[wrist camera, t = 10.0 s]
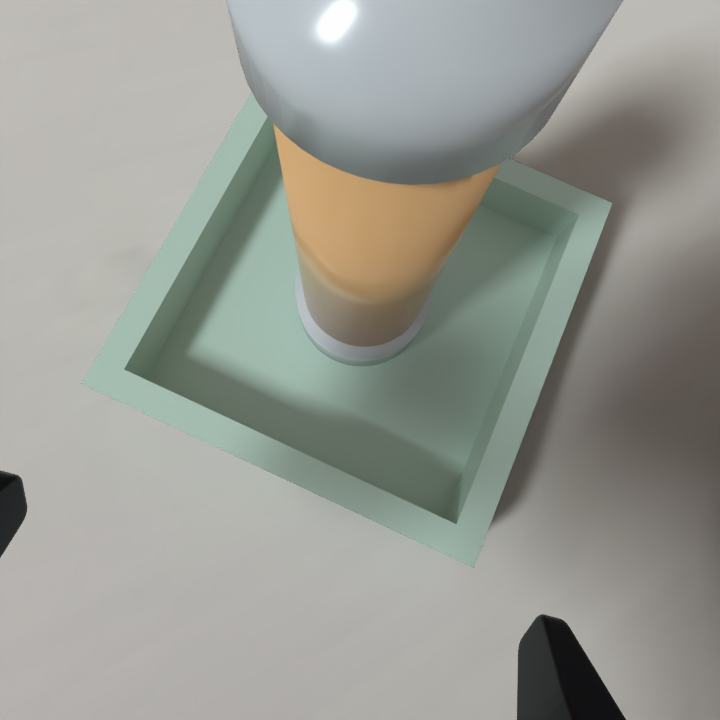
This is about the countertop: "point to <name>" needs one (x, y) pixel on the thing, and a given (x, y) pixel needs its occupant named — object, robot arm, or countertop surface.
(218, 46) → the countertop surface
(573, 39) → the disc
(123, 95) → the countertop surface
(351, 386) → the parts tray
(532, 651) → the robot arm
